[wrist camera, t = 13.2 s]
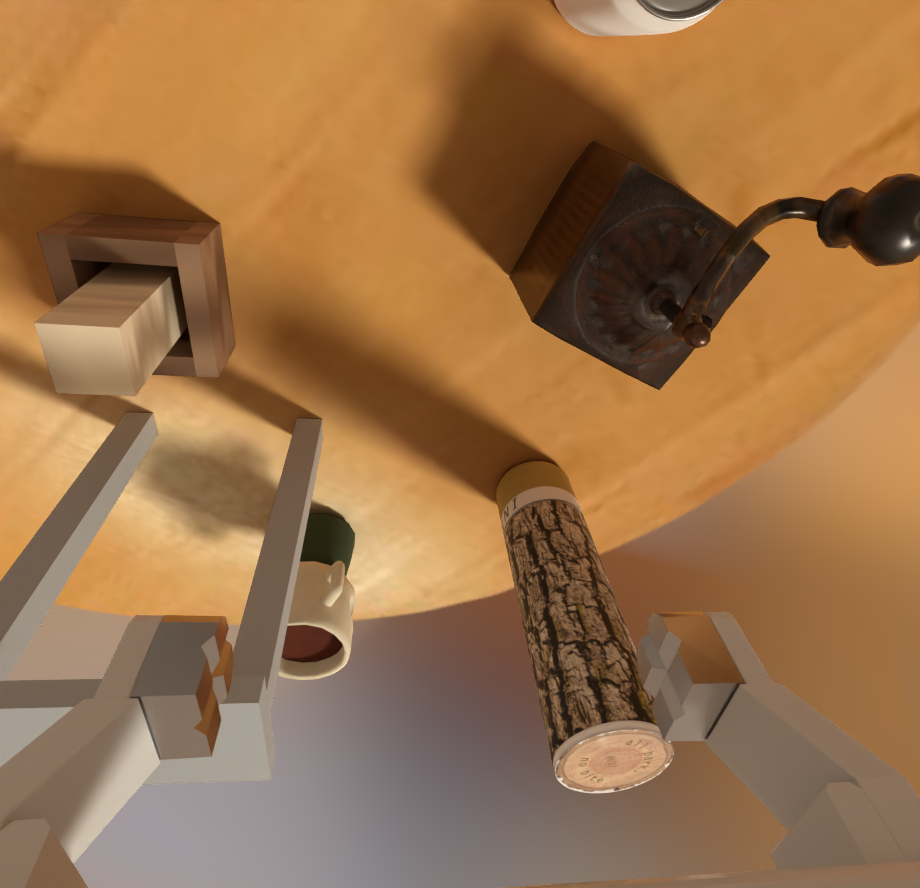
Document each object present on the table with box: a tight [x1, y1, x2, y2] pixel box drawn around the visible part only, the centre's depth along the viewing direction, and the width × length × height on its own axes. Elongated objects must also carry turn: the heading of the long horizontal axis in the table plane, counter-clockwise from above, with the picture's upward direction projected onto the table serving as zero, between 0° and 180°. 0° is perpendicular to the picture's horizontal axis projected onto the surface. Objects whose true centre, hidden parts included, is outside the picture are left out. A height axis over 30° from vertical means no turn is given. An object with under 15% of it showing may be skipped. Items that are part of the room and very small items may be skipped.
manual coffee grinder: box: [510, 141, 920, 390], centre depth 33 cm, size 16×11×18 cm
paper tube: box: [496, 461, 674, 793], centre depth 43 cm, size 7×7×25 cm
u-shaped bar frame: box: [0, 412, 323, 785], centre depth 35 cm, size 6×16×27 cm, turn 84°
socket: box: [37, 213, 235, 378], centre depth 39 cm, size 9×9×5 cm
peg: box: [34, 262, 188, 396], centre depth 36 cm, size 4×4×12 cm
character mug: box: [278, 514, 355, 680], centre depth 49 cm, size 11×7×13 cm, turn 146°
